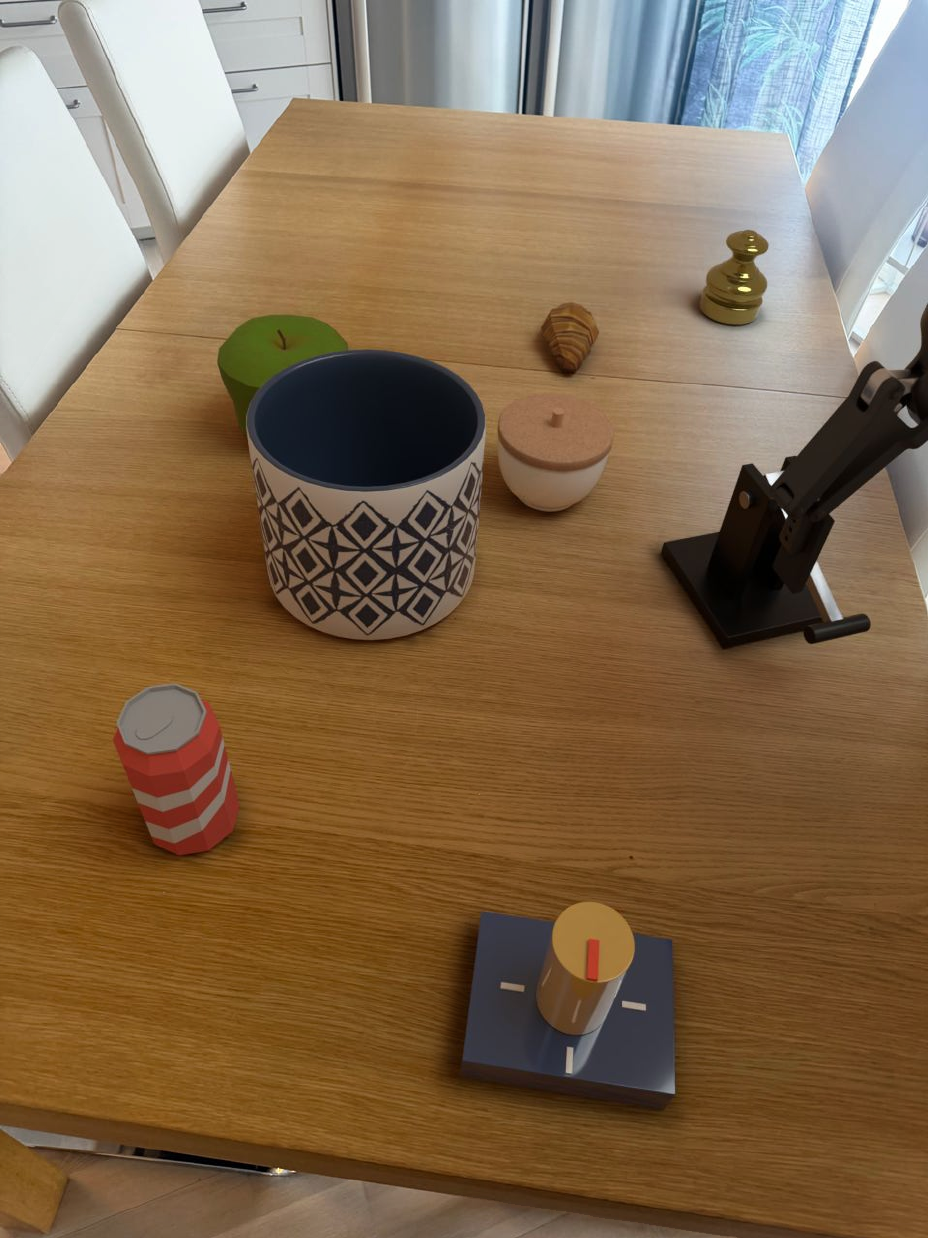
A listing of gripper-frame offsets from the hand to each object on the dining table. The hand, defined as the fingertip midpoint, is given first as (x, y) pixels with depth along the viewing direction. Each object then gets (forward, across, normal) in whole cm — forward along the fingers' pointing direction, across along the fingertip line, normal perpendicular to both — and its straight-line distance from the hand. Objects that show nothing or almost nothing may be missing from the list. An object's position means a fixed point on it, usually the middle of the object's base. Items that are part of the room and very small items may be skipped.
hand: (869, 561), depth 66 cm
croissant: (+14, 0, +52) cm, 54 cm away
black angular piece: (+14, 0, +11) cm, 18 cm away
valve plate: (+14, -29, -19) cm, 37 cm away
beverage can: (+14, -49, +1) cm, 51 cm away
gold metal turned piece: (+14, +23, +55) cm, 61 cm away
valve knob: (+11, -29, -19) cm, 36 cm away
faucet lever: (+6, 0, +6) cm, 9 cm away
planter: (+14, -31, +22) cm, 41 cm away
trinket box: (+14, -12, +28) cm, 34 cm away
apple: (+14, -34, +44) cm, 57 cm away
